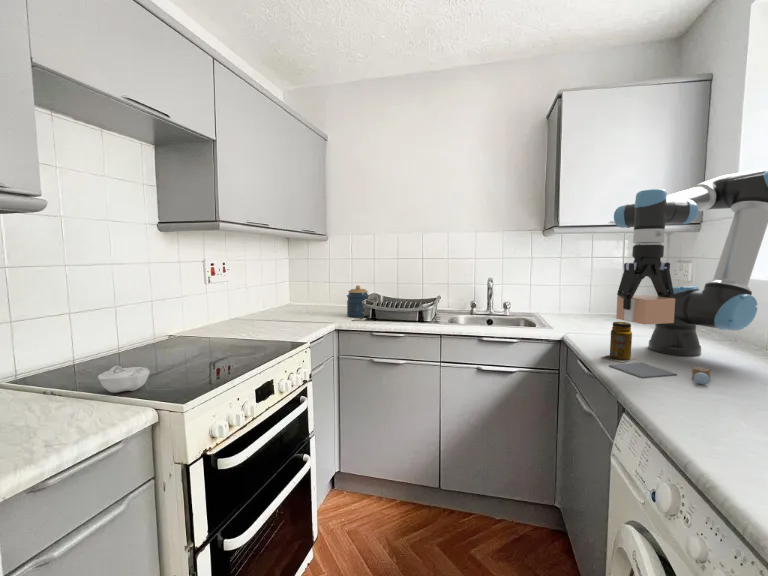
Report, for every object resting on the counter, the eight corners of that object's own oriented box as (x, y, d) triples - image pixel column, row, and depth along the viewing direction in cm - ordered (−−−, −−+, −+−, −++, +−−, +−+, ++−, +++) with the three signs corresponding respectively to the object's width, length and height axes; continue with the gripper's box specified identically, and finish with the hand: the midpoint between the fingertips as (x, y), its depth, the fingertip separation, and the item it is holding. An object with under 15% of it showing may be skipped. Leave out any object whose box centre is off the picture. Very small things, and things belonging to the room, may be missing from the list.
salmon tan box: (643, 317, 121) (644, 295, 120) (673, 322, 111) (675, 298, 110) (616, 318, 118) (617, 295, 118) (644, 324, 109) (645, 299, 108)
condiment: (636, 358, 129) (638, 323, 128) (623, 363, 124) (625, 326, 123) (613, 354, 135) (614, 320, 134) (600, 358, 130) (602, 322, 129)
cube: (697, 377, 110) (698, 367, 109) (710, 380, 107) (710, 369, 107) (691, 379, 108) (692, 368, 108) (704, 382, 106) (705, 371, 105)
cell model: (135, 398, 97) (133, 371, 96) (88, 398, 97) (86, 371, 96) (159, 384, 107) (158, 360, 106) (116, 384, 107) (115, 360, 107)
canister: (344, 317, 217) (343, 286, 215) (350, 314, 229) (349, 284, 228) (367, 318, 215) (366, 286, 213) (371, 314, 227) (371, 284, 226)
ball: (700, 381, 105) (700, 370, 105) (712, 385, 102) (713, 374, 102) (690, 382, 105) (691, 371, 104) (702, 386, 102) (703, 374, 101)
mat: (641, 363, 123) (641, 362, 123) (676, 375, 111) (676, 373, 111) (608, 366, 121) (608, 364, 121) (641, 378, 109) (641, 376, 109)
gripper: (625, 244, 107) (621, 323, 109) (692, 243, 111) (687, 320, 113) (604, 244, 114) (601, 319, 116) (668, 244, 119) (664, 316, 121)
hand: (644, 319), depth 115 cm, fingers closed on salmon tan box, 10 cm apart
